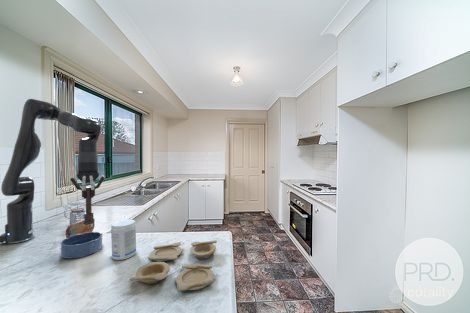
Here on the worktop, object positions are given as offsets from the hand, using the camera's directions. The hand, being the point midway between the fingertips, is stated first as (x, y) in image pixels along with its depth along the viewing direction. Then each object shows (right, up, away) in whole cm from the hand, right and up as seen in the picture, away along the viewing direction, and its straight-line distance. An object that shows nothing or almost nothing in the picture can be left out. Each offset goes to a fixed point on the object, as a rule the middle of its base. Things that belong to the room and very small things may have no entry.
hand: (88, 197), depth 95 cm
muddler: (0, -12, 0) cm, 12 cm away
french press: (-33, -25, +34) cm, 53 cm away
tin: (-16, -25, +15) cm, 33 cm away
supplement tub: (+20, -25, -5) cm, 32 cm away
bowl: (-2, -25, -1) cm, 25 cm away
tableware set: (+47, -25, -14) cm, 55 cm away
